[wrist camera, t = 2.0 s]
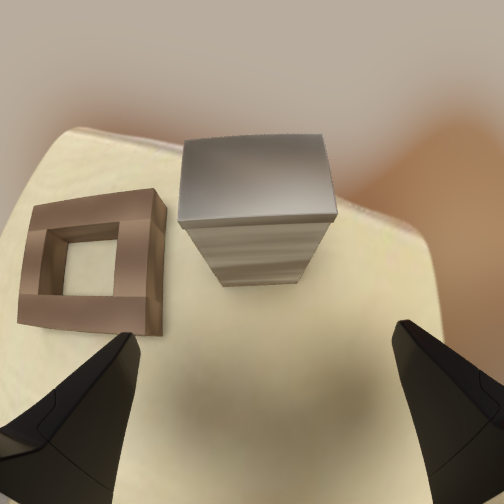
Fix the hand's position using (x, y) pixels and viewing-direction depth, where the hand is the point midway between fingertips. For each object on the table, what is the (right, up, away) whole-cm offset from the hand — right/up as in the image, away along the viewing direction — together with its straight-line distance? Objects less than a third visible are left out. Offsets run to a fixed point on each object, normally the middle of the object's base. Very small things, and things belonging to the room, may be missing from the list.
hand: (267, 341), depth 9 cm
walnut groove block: (-14, +1, +14) cm, 19 cm away
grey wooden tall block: (0, +2, +13) cm, 13 cm away
